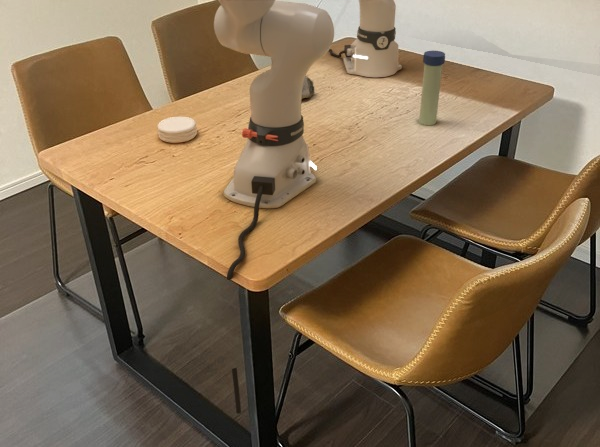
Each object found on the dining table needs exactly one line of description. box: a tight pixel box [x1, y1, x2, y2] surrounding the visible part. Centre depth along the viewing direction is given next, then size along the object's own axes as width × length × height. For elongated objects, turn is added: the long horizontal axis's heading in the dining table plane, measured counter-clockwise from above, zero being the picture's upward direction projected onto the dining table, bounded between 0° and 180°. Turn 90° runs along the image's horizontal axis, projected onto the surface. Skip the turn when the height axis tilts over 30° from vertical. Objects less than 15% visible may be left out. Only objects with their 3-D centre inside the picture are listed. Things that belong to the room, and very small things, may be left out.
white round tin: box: [156, 116, 198, 144], centre depth 162 cm, size 10×10×4 cm
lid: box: [422, 50, 446, 66], centre depth 159 cm, size 5×5×2 cm
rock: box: [301, 75, 315, 100], centre depth 186 cm, size 15×10×7 cm
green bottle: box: [418, 63, 444, 126], centre depth 164 cm, size 5×5×18 cm
